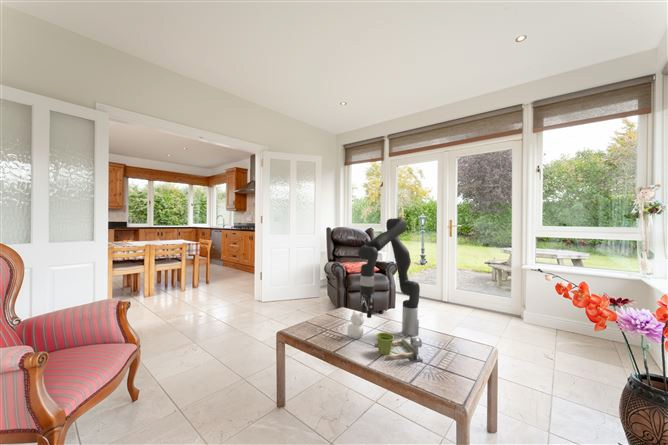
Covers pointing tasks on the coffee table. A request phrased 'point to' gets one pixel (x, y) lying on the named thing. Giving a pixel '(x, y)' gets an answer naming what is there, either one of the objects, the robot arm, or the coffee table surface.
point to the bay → (399, 356)
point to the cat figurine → (356, 325)
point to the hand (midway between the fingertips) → (366, 314)
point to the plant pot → (384, 343)
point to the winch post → (415, 348)
